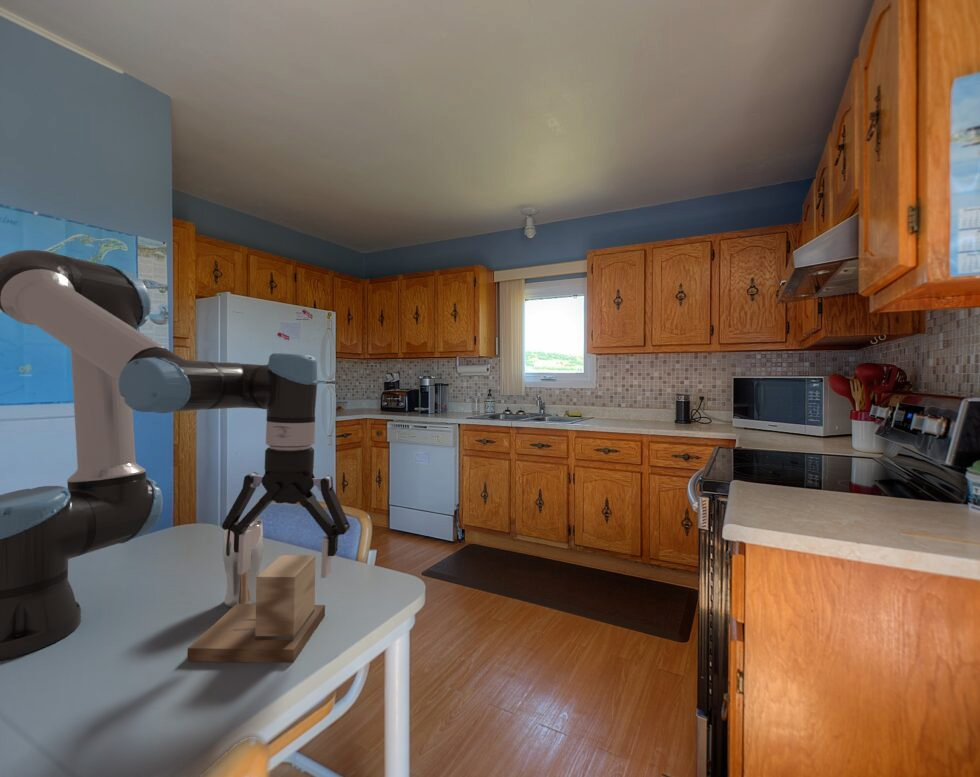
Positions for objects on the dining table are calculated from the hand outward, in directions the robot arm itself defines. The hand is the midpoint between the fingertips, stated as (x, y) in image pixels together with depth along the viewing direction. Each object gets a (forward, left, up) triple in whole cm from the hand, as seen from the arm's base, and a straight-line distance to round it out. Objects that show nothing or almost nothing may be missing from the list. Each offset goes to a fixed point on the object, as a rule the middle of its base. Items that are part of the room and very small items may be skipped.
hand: (285, 573), depth 77 cm
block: (0, 0, -9) cm, 9 cm away
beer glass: (-13, +12, -11) cm, 21 cm away
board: (-4, 0, -11) cm, 11 cm away
